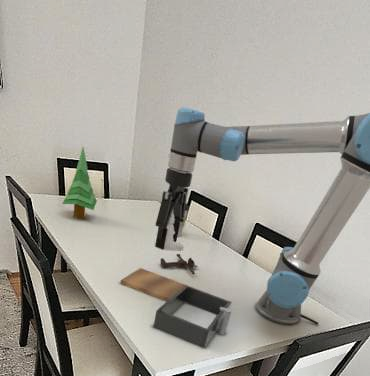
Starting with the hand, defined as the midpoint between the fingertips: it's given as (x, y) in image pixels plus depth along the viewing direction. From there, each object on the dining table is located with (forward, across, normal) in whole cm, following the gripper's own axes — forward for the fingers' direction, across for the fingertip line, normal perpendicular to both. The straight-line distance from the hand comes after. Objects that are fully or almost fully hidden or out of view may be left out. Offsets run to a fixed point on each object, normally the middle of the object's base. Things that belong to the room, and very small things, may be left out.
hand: (166, 244), depth 122 cm
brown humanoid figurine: (+16, -23, -2) cm, 28 cm away
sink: (+16, +12, +19) cm, 28 cm away
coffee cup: (+16, -59, -20) cm, 64 cm away
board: (+16, -1, -1) cm, 16 cm away
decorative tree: (+16, -38, -59) cm, 72 cm away
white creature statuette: (+1, 0, 0) cm, 1 cm away
